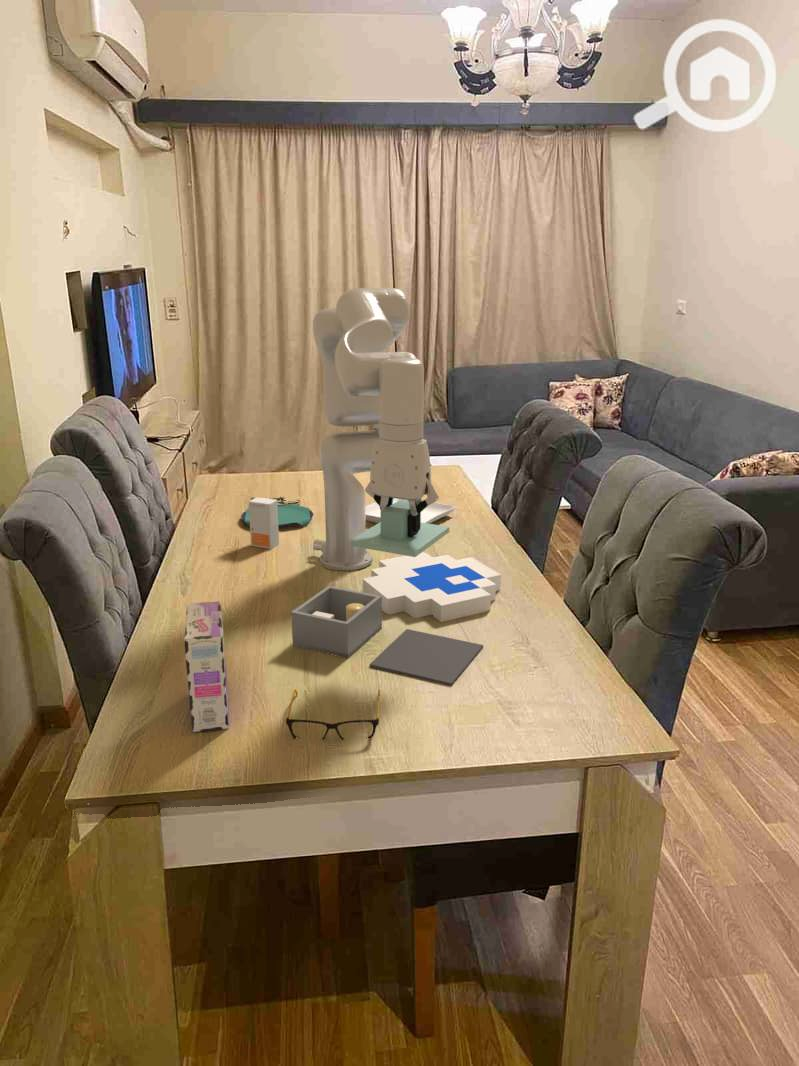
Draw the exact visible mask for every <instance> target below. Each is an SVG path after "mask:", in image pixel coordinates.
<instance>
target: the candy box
mask: <svg viewBox="0 0 799 1066" xmlns="http://www.w3.org/2000/svg"><path fill="white" fill-rule="evenodd" d="M222 611H223V610H222V602H221V601H219V600H218V601H206V602H205V601H204V602H196V603H194V602H193V603H186V612H185V614H186V616H185V626H184V629H185V630H184V651H185V666H186V677H187V689H188V698H189V699H188V700H189V709H190V710H189V711H190V720H191V731H192V733H199V732H208V731H217V730H218V731H219V730H227V728H228V729H229V728H230V721H229V720H230V719H229V718H230V717H229V693H228V678H227V676H228V675H227V666H226V665H227V664H226V654H225V653H226V652H225V637H224V636H225V635H224V622H223V612H222Z"/></svg>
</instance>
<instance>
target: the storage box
mask: <svg viewBox="0 0 799 1066" xmlns="http://www.w3.org/2000/svg"><path fill="white" fill-rule="evenodd" d="M382 612H383V610H382V596H378V595H373V594H368V593H363V591H357V590H351V589H348V588H341V587H337V586H330V585H328V586H326V587H324V589H322V590H321V591H319V592H318V593H316V594H314V596H312V597H310V598H309V599H308V600H306V601H305V602H304V603H302V604H300V605H299V606H297V607H295V609H293V610H292V611H291V612H290V614H291V616H290V617H291V637H292V638H291V639H292V646H294V647H297V648H302V649H306V650H311V651H314V650H315V652H318V651H320V652H319V653H322V652H323V654H327V653H328V654H327V655H331V654H333V655H332V656H335V655H336V657H340V658H344V657H345V659H349V658H350V657H351V656H353V655H354V654H355V653H356V652H357V651H358V650H359V649H361V646H362V647H363V646H364V645H365V644H366V643H367V642H369V641H370V640H371V639H372V638H373V637H374V636H375V635H376V634H377V633H379V631H381V630H382V628H383V622H382V621H383V613H382ZM372 636H373V637H372ZM371 637H372V638H371ZM370 638H371V639H370ZM353 653H354V654H353ZM352 654H353V655H352Z"/></svg>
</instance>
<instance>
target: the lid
mask: <svg viewBox="0 0 799 1066" xmlns="http://www.w3.org/2000/svg"><path fill="white" fill-rule="evenodd" d="M380 514H381V522H380V523H378V524H376V523H375V525H373V526H371V527H369V528H368V529H366V531H365V532H363V533H361V534H360V535H358V536H356V537H355V538H353V539H351V540H350V546H354V547H360V548H366V550H371V551H372V550H373V551H377V552H382V553H383V552H384V553H389V554H390V553H391V554H394V555H400V556H411V557H416V556H418V555H419V554H420V553H422V552H424V551H426V550H427V549H428V548H431V546H433V545H435V543H437V542H438V541H439V540H441V539H442V538H444V537H445V536H446V535H448V534H449V533H450V526H446V525H439V524H434V523H430V524H428V523H421V512H420V530H419V531H418V533H417V534H415V535H414V536H413V537H408V515H410V507H409V501H408V500H399V501H397V502H396V503H394V504H392V505H390V506H389V507H387V508H385V509H384V510H382V511H380Z"/></svg>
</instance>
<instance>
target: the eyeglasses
mask: <svg viewBox="0 0 799 1066" xmlns="http://www.w3.org/2000/svg"><path fill="white" fill-rule="evenodd" d="M295 695H298V696H299V693H298V690H297V689H293V692H292V695H291V699H290V704H289V707H288V712H287V715H286V719H285V724H286V725H287V727H288V729H289V733H290V735H291V736H292V737H293V738H294V739H296V737H298V736H297V735H295V733H294V731H293V724H294V723H312V724H319V725H323V726H325V727H326V730H325V733H324V735H323V737H321V738H322V739H324V740H325V739H326V737H327V735H328V733H329V731H330V730H335V732H336V733H337V736H338V737H339V739H340V740H341V739H342V740H341V741H344V740H343V739H345V738H344V737H343V736H342V735H341V734H340V731H339V729H338V727H339V726H341V725H345V724H353V723H370V724H371V725H372V731H371V732H372V733H371V734H370V735H369V736H367V737H368V738H370V739H372V738H373V737H374V736H375V732H376V729H377V727H378V726H379V724H380V717H379V713H380V696H381V689H379V688H378V693H377V711H376V712H377V713H376V714H377V715H376V719H373V718H372V719H359V720H358V719H357V720H355V719H354V720H346V721H341V722H336V723H328V722H324V721H318V720H310V719H290V715H291V709H292V707H293V706H292V705H293V702H294V697H295Z"/></svg>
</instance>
